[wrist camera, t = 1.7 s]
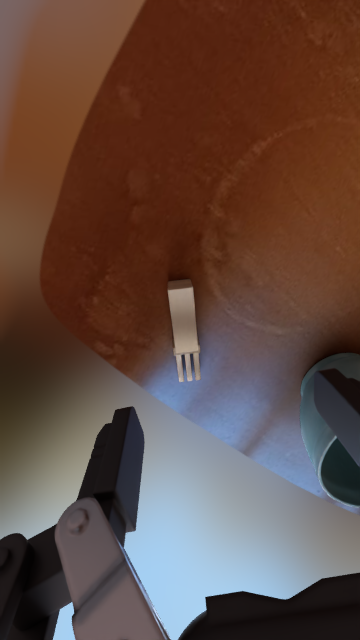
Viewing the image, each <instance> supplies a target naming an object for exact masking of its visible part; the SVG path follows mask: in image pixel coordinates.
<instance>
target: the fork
mask: <svg viewBox="0 0 360 640" xmlns="http://www.w3.org/2000/svg"><path fill="white" fill-rule="evenodd" d="M168 296H169V304H170V312H171V320H172V327H173V335H174V340H173V353H174V356H175V355H176V361H177V369H178V377H179V382H184V374H183V366H182V357H181V355H184V354H185V363H186V372H187V381H192V371H191V361H190V354H193V361H194V372H195V378H196V380H201V377H200V365H199V353H200V344H199V339H198V337H197V328H196V317H195V305H194V293H193V286H192V283H191V280H190V279H185V280H176V281H168Z"/></svg>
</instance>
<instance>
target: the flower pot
mask: <svg viewBox="0 0 360 640" xmlns="http://www.w3.org/2000/svg"><path fill="white" fill-rule="evenodd" d="M331 368H336V369H337V370H339V371H340V372H341V373H342V374H343V375H344V376H345V377H346V378H354V379H356V380H358V381H360V355H359V354H355V353H340V354H335V355H332V356H329V357H327V358H325V359H323V360H321V361H320V362H318V363H317V364H315V365H314V366H313V367H312V368H311V369H310V370H309V371H308V372H307V374H306V375H305V377H304V379H303V381H302V384H301V396H302V400H301V405H300V426H301V433H302V437H303V441H304V444H305V447H306V450H307V453H308V455H309V457H310V460H311V462H312V464H313V466H314V468H315V472H316V475H317V478H318V480H319V482H320V484H321V486H322V488H323V489H324V491H325V492H326V493H327V494H328V495H329V496H330V497H331V498H333V499H334V500H336V501H338V502H340V503H342V504H345V505H348V506H352V507H357V508H360V467H359V466H358V465H357V463H356V462H355V461H354V459H353V458H352V457H351V455H350V454H349V453H348V451H347V450H346V449H345V447H344V446H343V445H342V443H341V442H340V441H339V439H338V438H337V437H336V435H335V434H334V433H333V431H332V430H331V429H330V427H329V426H328V425H327V423H326V422H325V421H324V419H323V418H322V417H321V415H320V414H319V412H318V411H317V409H316V406H315V403H314V374H315V372H316V371H320V370H326V369H331Z"/></svg>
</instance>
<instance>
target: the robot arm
mask: <svg viewBox="0 0 360 640" xmlns="http://www.w3.org/2000/svg"><path fill="white" fill-rule="evenodd" d="M314 403H315V406H316V409H317V411H318V412H319V414H320V415H321V417H322V418H323V419H324V421H325V422H326V423H327V425H328V426H329V427H330V429H331V430H332V431H333V433H334V434H335V435H336V437H337V438H338V439H339V441H340V442H341V443H342V445H343V446H344V447H345V449H346V450H347V451H348V453H349V454H350V455H351V457H352V458H353V459H354V461H355V462H356V463H357V465H358V466H359V467H360V381H358V380H356V379H354V378H346V377H345V376H344V375H343V374H342V373H341V372H340V371H339V370H337V369H336V368H331V369H326V370H320V371H316V372H315V374H314ZM143 453H144V434H143V430H142V427H141V425H140V422H139V419H138V416H137V414H136V411H135V409H134V407H126V408H122V409H117V410H115V413H114V416H113V420H112V423H108V424H105V425H104V427H103V428H102V429H101V431H100V432H99V434H98V435H97V438H96V441H95V444H94V449H93V451H92V454H91V459H90V460H89V463H88V466H87V470H86V473H85V476H84V479H83V482H82V486H81V488H80V492H79V495H78V498H77V500H76V502H74V503H73V504H71V505H70V506H69V507H68V508H67V509H66V510H65V511H64V513H63V514H62V516H61V517H60V519H59V521H58V523H57V524H56V525H54V526H52V527H51V528H49V529H47V530H45V531H43V532H41V533H39V534H38V535H36V536H34V537H32V538H30V539H28V540H27V539H26V538H25V537H24V536H23V535H22V534H20V533H14V534H10V535H8V536H6V537H4V538H2V539H1V540H0V640H53V636H54V632H55V628H56V624H57V619H58V615H59V611H60V609H61V608H63V607H64V606H66V605H67V604H69V603H71V602H73V606H74V614H73V616H72V626H73V630H74V635H75V639H76V640H171V639H170V636H169V635H168V633H167V631H166V629H165V627H164V625H163V623H162V621H161V619H160V617H159V615H158V613H157V612H156V610H155V608H154V606H153V604H152V602H151V600H150V598H149V596H148V594H147V593H146V590H145V588H144V586H143V585H142V582H141V580H140V579H139V577H138V575H137V573H136V571H135V569H134V567H133V565H132V563H131V561H130V559H129V557H128V555H127V553H126V551H125V549H124V541H125V533H127V532H132V531H135V530H136V521H137V511H138V501H139V492H140V482H141V473H142V463H143ZM205 598H206V608H207V610H206V611H204V612H203V613H201V614H200V615H199V616H197V617H196V618H195V619H194V620H193V621H192V622H191V623H190V624H189V625H188V626H187V628H186V629H185V630H184V631H183V633H182V634H181V636H180V637H179V639H178V640H360V573H355V574H348V575H342V576H336V577H329V578H323V579H321V580H319V581H318V582H316V583H314V584H312V585H311V586H309V587H308V588H306V589H304V590H303V591H301V592H299V593H298V594H296V595H295V596H293V597H291V598H290V599H286V600H284V599H278V598H273V597H268V596H264V595H258V594H254V593H249V592H244V591H241V592H234V593H228V594H222V595H215V596H209V597H205Z"/></svg>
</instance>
